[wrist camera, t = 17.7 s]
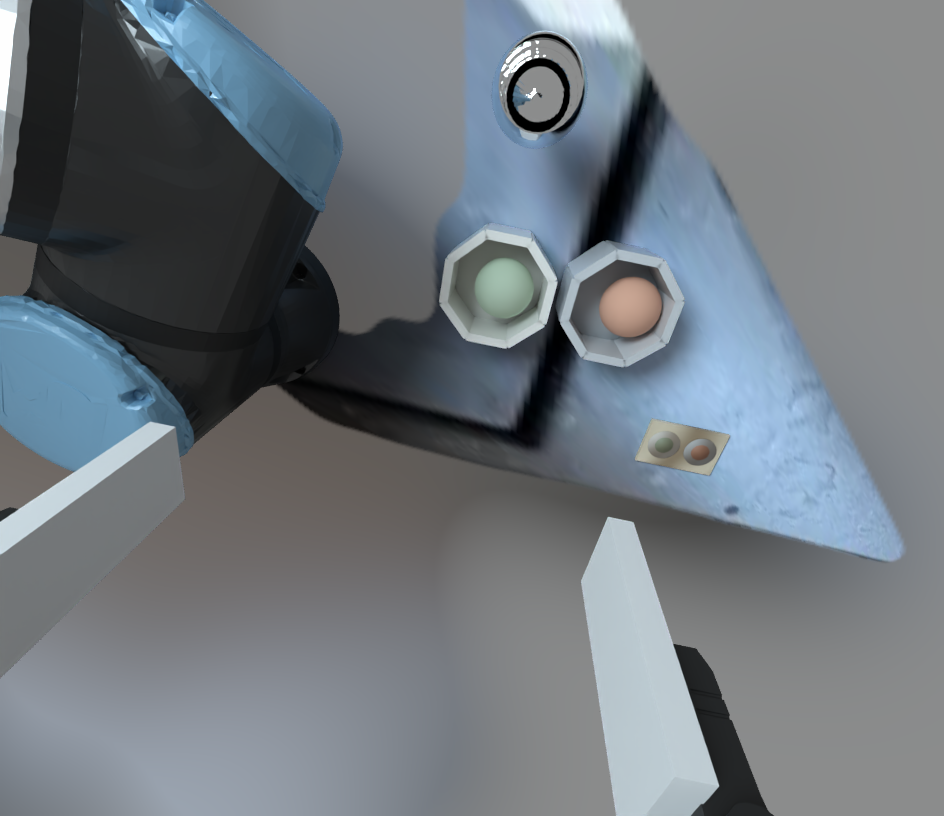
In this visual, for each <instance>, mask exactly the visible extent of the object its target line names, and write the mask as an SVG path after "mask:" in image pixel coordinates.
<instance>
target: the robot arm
mask: <svg viewBox="0 0 944 816" xmlns="http://www.w3.org/2000/svg"><path fill="white" fill-rule="evenodd" d="M342 149H343V142H342V136H341V131H340V129H339V126H338V124H337V122H336V120H335V118H334V117H333V115H332V114H331V113H330V111H329V110H328V109H327V108H326V107H325V106H324V105H323V104H322V103H321V102H320V101H319V100H318V99H317V98H316V97H315V96H314V95H313V94H312V93H311V92H310V91H309V90H308V89H306V88H305V87H304V86H303V85H302V84H301V83H300V82H299V81H298V80H297V79H295V78H294V77H293V76H292V75H291V74H290V73H289V72H287V71H286V70H285V69H284V68H283V67H282V66H281V65H280V64H278V63H277V62H276V61H275V60H274V59H273V58H271V57H270V56H269V55H268V54H267V53H266V52H264V51H263V50H262V49H261V48H260V47H258V46H257V45H256V44H255V43H254V42H253V41H252V40H250V39H249V38H248V37H247V36H246V35H244V34H243V33H242V32H241V31H240V30H239V29H237V28H236V27H235V26H234V25H233V24H231V23H230V22H229V21H228V20H227V19H225V18H224V17H223V16H221V14H219V13H218V12H217V11H216V10H214V9H213V8H212V7H211V6H210V5H209V4H207V3H206V2H205V1H204V0H0V235H2V236H6V237H11V238H15V239H19V240H24V241H28V242H32V243H37V244H38V246H37V252H36V258H35V262H34V268H33V274H32V280H31V284H30V287H29V288H28V289H27V291H26V292H25V293H24V294H23V295H20V296H8V295H6V296H2V297H0V425H1V426H2V427H3V428H4V429H5V430H6V431H7V432H8V433H9V434H11V435H12V436H13V437H14V438H16V439H17V440H18V441H20V442H21V443H22V444H23V445H25V446H26V447H28V448H29V449H31V450H32V451H34V452H35V453H37V454H38V455H40V456H42V457H43V458H45V459H47V460H49V461H51V462H53V463H55V464H57V465H59V466H61V467H63V468H66V469H68V470H71V471H73V472H74V473H73V474H71V475H70V476H68V477H67V478H65V479H64V480H62V481H61V482H59V483H58V484H56V485H55V486H53V487H52V488H50V489H49V490H47V491H46V492H44V493H43V494H41V495H40V496H38V497H37V498H35V499H34V500H32V501H31V502H29V503H28V504H26V505H25V506H23V507H22V508H20V509H16V508H11V507H10V508H7V509H5V510H2V511H0V678H1V677H2V676H3V675H4V674H5V673H6V672H7V671H8V670H9V669H11V668H12V667H13V666H14V664H16V663H17V662H18V661H19V660H20V659H21V658H22V657H23V656H24V655H25V654H26V653H27V652H28V651H29V650H30V649H31V648H32V647H33V646H34V645H35V644H36V643H37V642H38V641H39V640H40V639H41V638H42V637H43V636H44V635H46V634H47V633H48V632H49V631H50V630H51V629H52V628H53V627H54V626H55V625H56V624H57V623H58V622H59V621H60V620H61V619H62V618H63V617H64V616H65V615H66V614H67V613H68V612H69V611H70V610H71V609H72V608H73V607H74V606H76V604H78V603H79V602H80V600H82V599H83V598H84V597H85V596H86V595H87V594H88V593H89V592H90V591H91V590H92V589H93V588H94V587H95V586H96V585H97V584H98V583H99V582H100V581H101V580H102V579H103V578H104V577H105V576H106V575H107V574H109V573H110V572H111V571H112V570H113V569H114V568H115V567H116V566H117V565H118V564H119V563H120V562H121V561H122V560H123V559H124V558H125V557H126V556H127V555H128V554H129V553H130V552H131V551H132V550H133V549H134V548H135V547H136V546H137V545H138V544H139V543H140V542H142V541H143V540H144V539H145V538H146V537H147V536H148V535H149V534H150V533H151V532H152V531H153V530H154V529H155V528H156V527H157V526H158V525H159V524H160V523H161V522H162V521H163V520H164V519H165V518H166V517H167V516H168V515H169V514H170V513H172V511H174V510H175V509H176V508H177V507H178V506H179V505H180V504H181V503H182V502H183V501H184V500H185V493H184V486H183V478H182V471H181V464H180V457H181V456H183V455H185V454H186V453H187V452H188V451H189V449H190V448H191V447H192V446H193V444H194V443H196V442H197V441H198V440H199V439H200V438H202V437H203V436H204V435H205V434H206V433H208V432H209V431H210V430H211V429H212V428H214V427H215V426H216V425H217V424H218V423H220V422H221V421H222V420H223V419H224V418H225V417H227V416H228V415H229V414H230V413H231V412H233V411H234V410H235V409H236V408H237V407H239V406H240V405H241V404H242V403H243V402H244V401H246V400H247V399H248V398H249V397H251V396H252V395H253V394H254V393H255V392H256V391H258V390H259V389H260V388H261V387H266V386H271V385H276V384H281V383H286V382H290V381H293V380H296V379H298V378H300V377H302V376H304V375H305V374H307V373H309V372H310V371H311V370H312V369H314V368H315V367H316V366H317V365H318V364H319V363H320V362H321V361H322V360H323V359H324V358H325V357H326V356H327V355H328V353H329V352H330V350H331V349H332V347H333V345H334V342H335V340H336V337H337V333H338V329H339V316H340V315H339V304H338V299H337V295H336V292H335V289H334V286H333V284H332V281H331V279H330V277H329V275H328V274H327V272H326V270H325V268H324V267H323V265H322V264H321V263H320V261H319V260H318V259H317V258H316V257H315V255H314V254H313V253H312V252H311V251H310V250H309V249H308V248H307V247H306V246H305V243H306V241H307V238H308V236H309V234H310V232H311V230H312V228H313V225H314V223H315V221H316V219H317V217H318V214H319V212H323V211H324V209H325V200H324V199H325V197H326V194H327V191H328V189H329V186H330V184H331V181H332V179H333V176H334V173H335V171H336V168H337V166H338V163H339V161H340V158H341V155H342ZM581 584H582V591H583V596H584V604H585V611H586V617H587V624H588V630H589V637H590V644H591V651H592V657H593V664H594V671H595V677H596V684H597V691H598V697H599V704H600V711H601V717H602V724H603V731H604V737H605V744H606V751H607V757H608V764H609V771H610V777H611V784H612V791H613V797H614V804H615V811H616V816H774V815H772V814H771V813H770V812H769V811H768V810H767V808H766V805H765V803H764V802H763V799H762V797H761V795H760V792H759V790H758V787H757V784H756V782H755V779H754V777H753V774H752V772H751V769H750V766H749V764H748V761H747V759H746V756H745V753H744V751H743V748H742V746H741V743H740V741H739V738H738V736H737V733H736V730H735V728H734V725H733V722H732V720H730V719H729V712H728V710H727V707H726V704H725V702H724V700H722V698H721V697H722V694H721V692H720V689H719V686H718V684H717V681H716V679H715V676H714V674H713V671H712V670H711V668H710V667H709V666H708V664H707V663H706V661H705V660H704V659H703V657H702V656H701V655H700V653H699V652H698V651H697V649H695V648H691V647H686V646H681V645H676V644H673V643H672V640H671V637H670V633H669V630H668V627H667V624H666V621H665V618H664V615H663V612H662V609H661V606H660V603H659V599H658V597H657V593H656V590H655V587H654V584H653V581H652V578H651V575H650V572H649V569H648V566H647V563H646V560H645V557H644V553H643V550H642V547H641V545H640V541H639V538H638V535H637V532H636V529H635V526H634V523H633V522H630V521H625V520H620V519H615V518H611V517H608V518H607V521H606V523H605V525H604V528H603V530H602V533H601V535H600V537H599V540H598V542H597V545H596V547H595V550H594V552H593V554H592V557H591V559H590V561H589V564H588V566H587V568H586V571H585V573H584V576H583V578H582V581H581Z"/></svg>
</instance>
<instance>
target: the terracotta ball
mask: <svg viewBox="0 0 944 816" xmlns="http://www.w3.org/2000/svg"><path fill="white" fill-rule="evenodd" d="M661 309H662V301H661V296H660V294H659V292H658V290H657V288H656V287H655V286H654V285H653V284H652V283H651V282H649V281H648V280H646V279H643V278H640V277H625V278H622V279H619V280H617V281H615V282H614V283H612V284H611V285H610V286H609V287H608V288H607V289H606V290H605V292H604V293H603V295H602V297H601V300H600V304H599V314H600V318H601V321H602V323H603V324H604V326H605V327H606V328H607V329H608V330H609V331H610V332H612V333H613V334H615V335H618V336H621V337H636V336H639V335H642V334H644V333H646V332H647V331H649V330H650V329H651V328H652V327H653V326H654V325H655V323H656V322H657V320H658V319H659V316H660V313H661Z"/></svg>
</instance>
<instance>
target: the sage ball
mask: <svg viewBox="0 0 944 816" xmlns="http://www.w3.org/2000/svg"><path fill="white" fill-rule="evenodd" d="M533 291H534V284H533V279H532V276H531V274H530V272H529V270H528V269H527V268H526V266H525V265H523V264H522V263H521V262H519V261H518V260H515V259H512V258H507V257H504V258H497V259H494V260H492V261H490V262H488V263H487V264H486V265H484V266H483V268H482V269H481V270H480V271H479V273H478V275H477V278H476V281H475V295H476V299H477V301H478V303H479V305H480V306H481V308H482V309H483V310H484V311H485V312H486V313H488V314H490V315H491V316H494V317H497V318H510V317H514V316H516V315H518V314H520V313H521V312H522V311H523V310H524V309H525V308H526V307H527V306H528V305H529V303H530V301H531V299H532V296H533Z"/></svg>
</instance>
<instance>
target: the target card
mask: <svg viewBox="0 0 944 816" xmlns="http://www.w3.org/2000/svg"><path fill="white" fill-rule="evenodd" d="M729 437H730V435H729V434H725V433H720V432H715V431H711V430H706V429H701V428H696V427H691V426H687V425H682V424H677V423H672V422H667V421H663V420H658V419H653V418H652V419H651V421H650V424H649V426H648V428H647V431H646V433H645V436H644V438H643V440H642V443H641V445H640V447H639V450H638V452H637V454H636V457H635V460H637V461H642V462H647V463H652V464H656V465H661V466H666V467H671V468H676V469H680V470H685V471H690V472H695V473H700V474H704V475H710V473H711V471H712V470H713V468H714V466H715V464H716V462H717V460H718V458H719V456H720V454H721V452H722V450H723V449H724V447H725V445H726V443H727V441H728V439H729Z"/></svg>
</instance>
